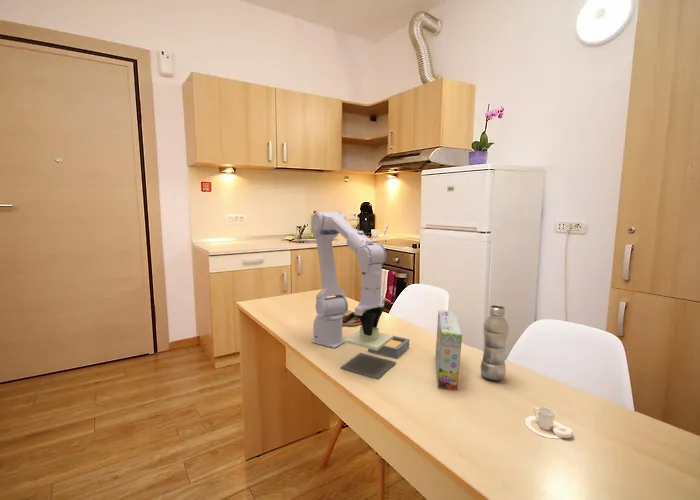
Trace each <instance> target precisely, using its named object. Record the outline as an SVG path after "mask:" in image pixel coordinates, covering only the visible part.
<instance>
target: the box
mask: <svg viewBox="0 0 700 500" xmlns="http://www.w3.org/2000/svg"><path fill="white" fill-rule="evenodd" d="M386 334H387V335H389V333H386ZM391 335H392V336H393V339H392V340H391V341H389V342H388V343H387V344H385V345H384V346H383V347H381V348H380V349H379V350H373V349H369V348H367V352H369V353H372V354H377V355H382V356H385V357H389V358H393V359H397V360H398V358H400V357H401V356H402V355H403V354H404V353H405V352H406V351H407V350H409V349H410V338H405V337H400V336H396V335H393V334H391Z"/></svg>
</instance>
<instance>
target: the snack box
mask: <svg viewBox="0 0 700 500" xmlns="http://www.w3.org/2000/svg"><path fill="white" fill-rule="evenodd" d="M437 315H438V316H437V328H436V343H435V366H436V381H437V382H436V383H437V388H439V389H447V390H452V391H458V384H459V374H460V364H461V363H460V362H461V351H462V341H463V339H462V338H463V333H462V329H461V326H460V324H459V319H458V317H457V313H456V311H454V310H453V311H452V310H441V309H439V310H438V314H437Z"/></svg>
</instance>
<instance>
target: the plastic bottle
mask: <svg viewBox="0 0 700 500" xmlns="http://www.w3.org/2000/svg"><path fill="white" fill-rule="evenodd" d="M489 307H490V308H489V309H490V310H489V316H488V317H487V318H486V319H485V321H484V322H483V334H484V335H483V338H484V346H483V347H484V348H483V355H482V359H481V364H480V373H481V374H482V376H483V377H484V378H485V379H486V380H487V379H488V380H490V381H497V382H498V381H501V380H503V379H504V378H505V376H506V372H507V368H506V367H507V366H506V356H505V355H506V346H507V345H506V343H507V339H508V335H509V331H510V327H509V324H508V321H507V320H506V318H505V314H506V313H505V310H506V309H505V306H502V305H498V304H495V305H494V304H493V305H490V306H489Z"/></svg>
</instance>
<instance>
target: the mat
mask: <svg viewBox="0 0 700 500" xmlns="http://www.w3.org/2000/svg"><path fill="white" fill-rule="evenodd" d="M396 364H397V361H394V360H390V359H386V358H381V357H379V356H374V355H371V354H367V353H364V352H359V354H357V355H356V356H354V357H353V358H352V359H350V360H349V361H347V362H346V363H344V364H343V365H342V366H340V370H344V371H348V372H350V373H354V374H358V375H361V376H365V377H368V378H371V379H373V380H380V379H381V378H383V376H384V375H385V374H387V372H389V370H390V369H392V368H393V367H394V366H395V365H396Z"/></svg>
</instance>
